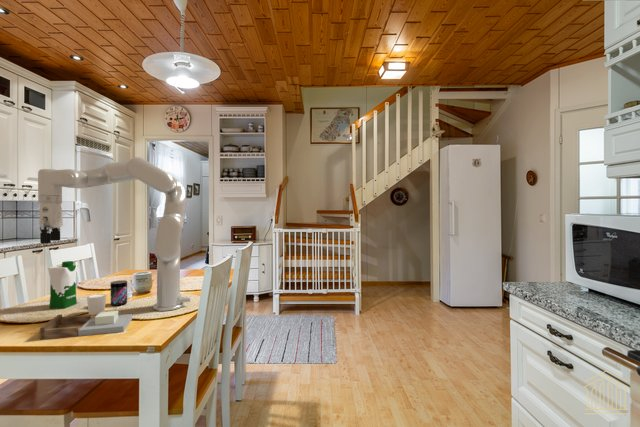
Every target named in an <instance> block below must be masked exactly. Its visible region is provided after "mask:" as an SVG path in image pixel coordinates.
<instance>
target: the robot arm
mask: <svg viewBox="0 0 640 427" xmlns="http://www.w3.org/2000/svg"><path fill="white" fill-rule="evenodd" d="M137 180H138V181H140V182H141V183H144V184H145V185H146V186H149V187H150V188H153V189H154V190H156V191H158V192H159V193H163V194H164V195H165V203H164V209H163V214H162V217H161V218H160V219H159V221H158V224H157V228H156V229H157V230H156V234H155V240H154V241H155V242H154V247H153V248H154V249H153V253H154V256H155V258H157V259H156V261H157V262H156V303H155V304H153V306H152V309H153V310H154V311H160V312H165V311H166V312H167V311H168V312H169V311H173V310H178V309H181V308H182V307H184V303H190V302H191V297H188V296H185V297H183V296H182V294H181V277H180V276H181V251H182V250H181V248H182V247H181V244H180V243H181V237H182V230H183V228H184V218H185V211H186V204H187V203H186V202H187V194H186V190H185V187H184V186H183V184H182V183H181V182H180V181H179V179H177V178H176V177H174V176H173V175H171V174H170V173H168V172H167V171H165V170H163V169H161V168H159V167H158V166H157V165H154V164H153V163H151V162H150V161H148V160H146V158H143V157H137V156H136V157H132V158H130V159H129V160H124V161H118V162H110V163H107V164H104V165H103V166H101V167H97V168H94V169H86V170H77V169H71V168H66V169H54V168H43V169H39V170H38V172H37V187H38V188H37V197H38V199H37V202H38V204H39V218H38V219H39V223H38V224H39V230H40V231H39V233H40V234H39V240H40V241H39V242H40V244H51V243H52V242H53V241H55V242H57V241H58V242H59V241H61V227H63V223H64V222H63V211H62V210H63V209H62V204H63V188H67V189H77V190H79V189H86V188H87V189H88V188H93V187H98V186H99V187H100V186H105V185H112V184H117V183H124V182H131V181H137Z"/></svg>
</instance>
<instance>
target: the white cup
mask: <svg viewBox="0 0 640 427" xmlns="http://www.w3.org/2000/svg"><path fill="white" fill-rule="evenodd" d="M86 300H87V309H88V310H87V311H88V315H91V316H92V315H98V314H99V313H100V312H106V301H107V295H106V294H92V295H89V296H87V297H86Z"/></svg>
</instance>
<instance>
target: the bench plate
mask: <svg viewBox="0 0 640 427" xmlns="http://www.w3.org/2000/svg"><path fill="white" fill-rule="evenodd" d="M95 317H96V316H91V319H90V320H88V321H87V322H86V323H85V324H82V326H80V328H79V330H78V336H77V337H81V336H94V335H102V334H103V335H105V334H113V333H124V332H125V330H126V329H127V327H128V326H129V324H130V323H131V322H132V320H133V314H132V313H130V314H129V313H128V314H118V319H117V320H116V322H115V323H114V324H104V325H95Z"/></svg>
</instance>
